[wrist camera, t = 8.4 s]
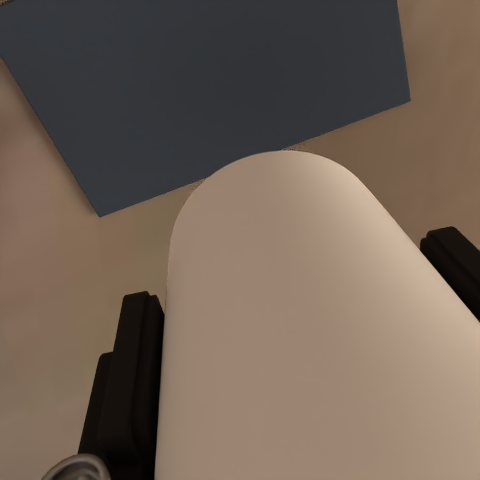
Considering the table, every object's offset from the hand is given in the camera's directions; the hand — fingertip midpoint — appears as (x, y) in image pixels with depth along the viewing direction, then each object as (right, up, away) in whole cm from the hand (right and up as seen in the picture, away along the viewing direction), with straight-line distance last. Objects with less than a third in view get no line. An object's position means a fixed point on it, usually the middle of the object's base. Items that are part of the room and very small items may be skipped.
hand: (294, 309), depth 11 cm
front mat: (-3, +11, +13) cm, 18 cm away
